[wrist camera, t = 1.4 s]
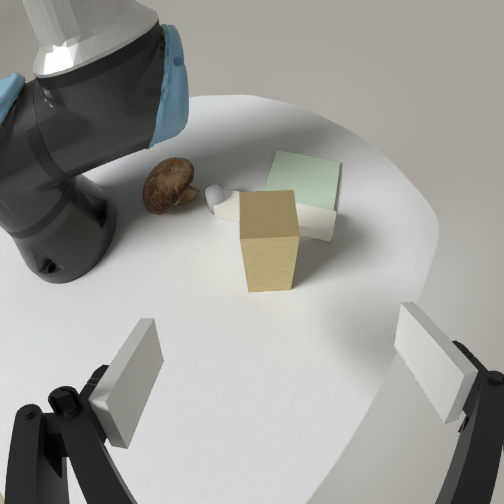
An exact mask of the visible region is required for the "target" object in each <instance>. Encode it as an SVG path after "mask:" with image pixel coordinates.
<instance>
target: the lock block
mask: <svg viewBox="0 0 504 504" xmlns="http://www.w3.org/2000/svg"><path fill="white" fill-rule="evenodd" d="M239 210H240V243H241V249H242V255H243V262H244V268H245V274H246V280H247V286H248V292H261V291H280V290H291V286H292V280H293V275H294V269H295V263H296V257H297V251H298V245H299V239H300V232H299V225H298V217H297V210H296V203H295V196H294V190H278V191H258V192H240V193H239Z"/></svg>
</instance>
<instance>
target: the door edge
mask: <svg viewBox="0 0 504 504" xmlns="http://www.w3.org/2000/svg"><path fill="white" fill-rule="evenodd" d="M239 193H240V192H238V191H232V190H226V189H223V187H222V186H220V185H217V184H214V185H210V186H209V187H207V189H206V190H205V195H206V199H207V203H208V207H209V210H210V212H211V213H212V214H214V215H215V217H216V218H219V219H225V220H230V221H234V222H239V223H240V210H239ZM296 210H297V217H298V225H299V232H300V235H302V236H306V237H311V238H315V239H320V240H324V241H329V242H331V239H332V236H333V233H334V226H335V220H336V213H337V211H333V210H328V209H324V208H319V207H314V206H310V205H305V204H300V203H296Z"/></svg>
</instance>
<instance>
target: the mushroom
mask: <svg viewBox="0 0 504 504" xmlns="http://www.w3.org/2000/svg"><path fill="white" fill-rule="evenodd" d="M193 175H194V168H193V166H192V164H191V162H190V161H188V160H187V159H184V158H176V157H175V158H169V159H167V160H165V161H162V162H161V163H159V164H158V165H157V166H156V167H155V168H154V169H153V171H152V172H151V173H150V175H149V177H148V179H147V181H146V182H145V185H144V189H143V200H144V205H145V207H146V208H147V210H148V211H150V212H151V213H153V214H156V215H162V214H164V213H166V212H167V211H168V210H170V209H171V208H172V207H173V206H174V205H183V204H185V203H186V202H188V201H190V200H192V199H193V198H194V197H196V196H197V195H198V194H199V192H200V191H199V190H196V189H194V188H192V187H190V186H189V185H190V183H191V182H192V180H193Z"/></svg>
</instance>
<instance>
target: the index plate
mask: <svg viewBox="0 0 504 504" xmlns="http://www.w3.org/2000/svg"><path fill="white" fill-rule="evenodd" d="M339 168H340V162H337V161H332V160H327V159H323V158H318V157H313V156H308V155H302V154H297V153H291V152H286V151H280V150H277V151H276V154H275V157H274V160H273V163H272V166H271V169H270V172H269V175H268V178H267V181H266V184H265V187H264V190H263V191H278V190H294V196H295V203H300V204H305V205H310V206H314V207H319V208H324V209H328V210H333V211H334V204H335V198H336V191H337V183H338V176H339Z"/></svg>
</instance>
